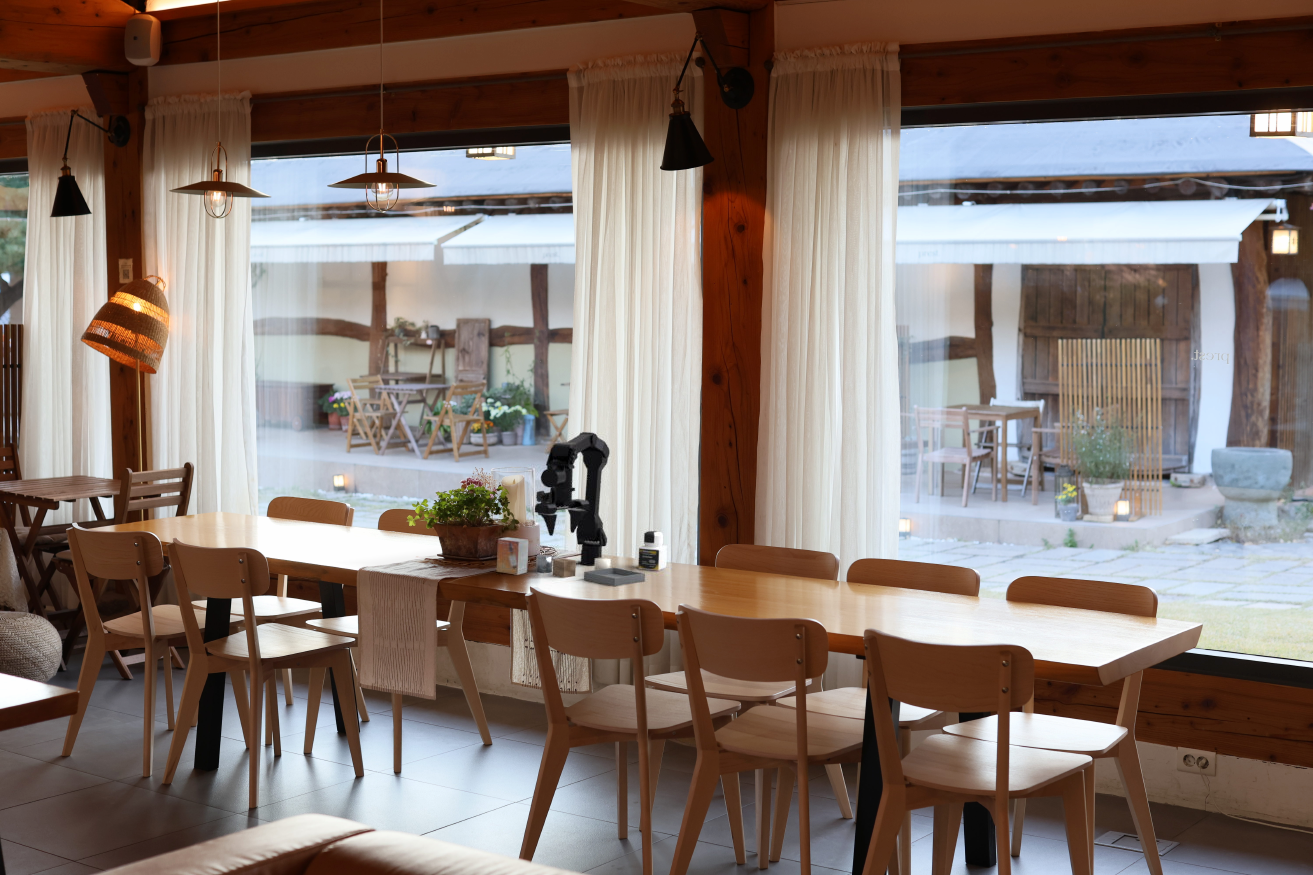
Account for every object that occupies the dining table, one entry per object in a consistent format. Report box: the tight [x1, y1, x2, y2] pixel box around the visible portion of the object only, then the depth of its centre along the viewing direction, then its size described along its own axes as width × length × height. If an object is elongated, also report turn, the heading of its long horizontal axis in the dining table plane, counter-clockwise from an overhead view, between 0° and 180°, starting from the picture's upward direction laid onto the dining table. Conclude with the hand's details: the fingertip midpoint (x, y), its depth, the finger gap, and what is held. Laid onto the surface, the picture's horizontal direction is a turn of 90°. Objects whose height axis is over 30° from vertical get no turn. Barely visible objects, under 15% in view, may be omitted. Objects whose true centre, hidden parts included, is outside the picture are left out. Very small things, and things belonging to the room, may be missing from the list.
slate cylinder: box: [535, 554, 554, 574], centre depth 406 cm, size 5×5×5 cm
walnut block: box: [552, 557, 577, 579], centre depth 400 cm, size 5×5×5 cm
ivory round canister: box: [593, 557, 612, 570], centre depth 404 cm, size 5×5×5 cm
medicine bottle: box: [637, 530, 668, 572], centre depth 418 cm, size 7×7×12 cm
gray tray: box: [583, 566, 646, 587], centre depth 395 cm, size 13×13×2 cm
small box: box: [496, 536, 529, 576], centre depth 402 cm, size 8×6×10 cm
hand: (561, 534), depth 399 cm, fingers open, 9 cm apart
